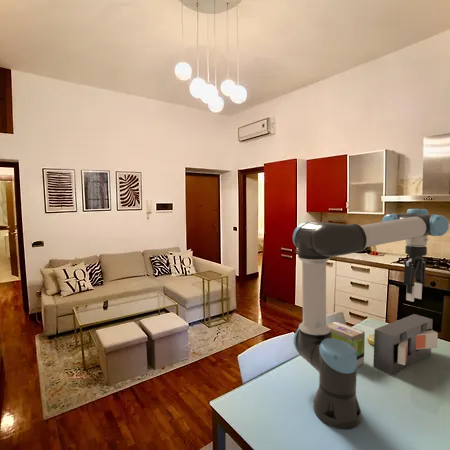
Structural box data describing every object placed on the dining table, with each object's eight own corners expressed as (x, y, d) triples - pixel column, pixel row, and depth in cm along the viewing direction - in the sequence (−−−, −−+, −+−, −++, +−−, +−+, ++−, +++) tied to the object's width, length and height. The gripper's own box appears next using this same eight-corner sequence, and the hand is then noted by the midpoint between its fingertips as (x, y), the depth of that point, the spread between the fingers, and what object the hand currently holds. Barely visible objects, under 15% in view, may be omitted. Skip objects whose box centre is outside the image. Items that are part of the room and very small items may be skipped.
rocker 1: (405, 365, 117) (406, 348, 116) (397, 363, 118) (398, 346, 118) (407, 353, 126) (408, 337, 126) (400, 351, 128) (401, 336, 128)
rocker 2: (414, 349, 129) (415, 334, 129) (409, 346, 132) (410, 332, 132) (437, 347, 131) (438, 332, 131) (432, 344, 134) (432, 330, 134)
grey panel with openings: (392, 376, 118) (394, 336, 117) (373, 367, 125) (374, 329, 124) (431, 354, 136) (433, 319, 135) (412, 347, 143) (414, 313, 142)
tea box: (364, 363, 128) (365, 331, 128) (351, 370, 123) (352, 337, 122) (335, 349, 141) (336, 320, 140) (322, 355, 135) (323, 325, 134)
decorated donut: (394, 345, 145) (394, 338, 145) (383, 351, 139) (384, 344, 139) (374, 337, 154) (374, 330, 154) (363, 343, 148) (363, 335, 148)
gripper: (414, 248, 112) (412, 306, 114) (436, 244, 122) (434, 298, 123) (394, 246, 119) (392, 300, 120) (417, 243, 128) (415, 293, 130)
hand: (413, 299), depth 122 cm, fingers open, 6 cm apart
